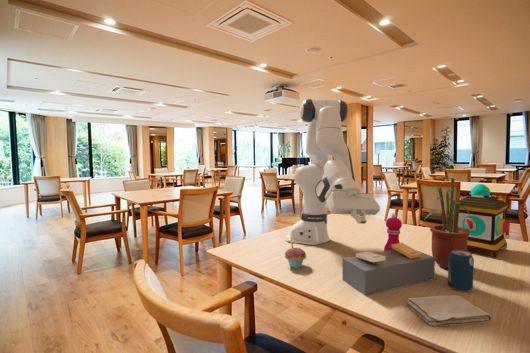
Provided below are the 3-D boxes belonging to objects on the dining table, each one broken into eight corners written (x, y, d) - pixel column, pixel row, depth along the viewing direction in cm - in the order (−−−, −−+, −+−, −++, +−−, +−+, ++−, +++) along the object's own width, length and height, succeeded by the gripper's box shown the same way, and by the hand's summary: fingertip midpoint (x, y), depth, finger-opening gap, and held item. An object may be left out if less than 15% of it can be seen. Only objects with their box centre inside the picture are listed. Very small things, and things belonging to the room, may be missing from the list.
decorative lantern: (511, 249, 131) (515, 183, 128) (499, 260, 119) (502, 187, 116) (460, 239, 147) (462, 180, 144) (444, 248, 134) (447, 183, 132)
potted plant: (473, 275, 106) (477, 179, 103) (425, 269, 112) (427, 178, 108) (460, 258, 123) (463, 175, 119) (418, 254, 128) (420, 174, 125)
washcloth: (403, 305, 88) (404, 295, 87) (458, 301, 90) (458, 291, 89) (430, 329, 76) (431, 318, 76) (493, 323, 78) (493, 312, 78)
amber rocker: (391, 247, 109) (391, 244, 109) (401, 245, 111) (402, 242, 111) (410, 258, 101) (410, 255, 101) (421, 256, 103) (421, 253, 102)
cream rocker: (356, 256, 104) (355, 253, 104) (367, 254, 106) (367, 251, 106) (373, 262, 95) (372, 258, 95) (385, 260, 97) (385, 256, 97)
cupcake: (292, 271, 113) (291, 241, 112) (281, 264, 120) (280, 235, 119) (310, 267, 117) (310, 237, 116) (298, 260, 124) (298, 232, 123)
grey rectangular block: (342, 279, 105) (342, 256, 104) (407, 266, 115) (407, 245, 114) (364, 295, 93) (364, 269, 93) (434, 279, 104) (435, 255, 103)
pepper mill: (401, 259, 123) (402, 212, 121) (403, 265, 116) (404, 216, 114) (383, 257, 125) (383, 211, 123) (384, 263, 118) (384, 215, 116)
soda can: (478, 290, 95) (479, 254, 94) (461, 293, 93) (463, 257, 92) (458, 281, 101) (459, 247, 100) (442, 284, 99) (443, 250, 98)
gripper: (365, 198, 116) (381, 228, 107) (320, 196, 109) (333, 227, 100) (373, 188, 112) (391, 217, 103) (328, 185, 105) (342, 216, 96)
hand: (362, 222), depth 101 cm, fingers closed
